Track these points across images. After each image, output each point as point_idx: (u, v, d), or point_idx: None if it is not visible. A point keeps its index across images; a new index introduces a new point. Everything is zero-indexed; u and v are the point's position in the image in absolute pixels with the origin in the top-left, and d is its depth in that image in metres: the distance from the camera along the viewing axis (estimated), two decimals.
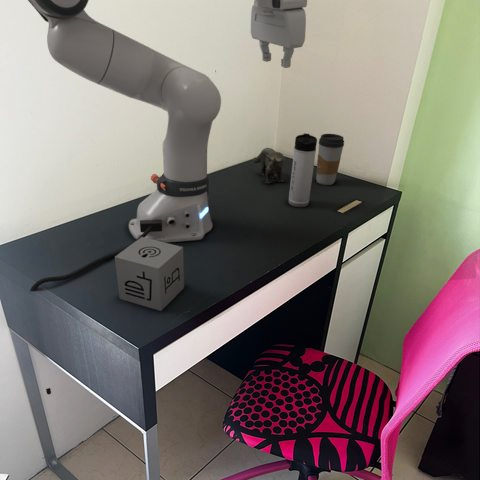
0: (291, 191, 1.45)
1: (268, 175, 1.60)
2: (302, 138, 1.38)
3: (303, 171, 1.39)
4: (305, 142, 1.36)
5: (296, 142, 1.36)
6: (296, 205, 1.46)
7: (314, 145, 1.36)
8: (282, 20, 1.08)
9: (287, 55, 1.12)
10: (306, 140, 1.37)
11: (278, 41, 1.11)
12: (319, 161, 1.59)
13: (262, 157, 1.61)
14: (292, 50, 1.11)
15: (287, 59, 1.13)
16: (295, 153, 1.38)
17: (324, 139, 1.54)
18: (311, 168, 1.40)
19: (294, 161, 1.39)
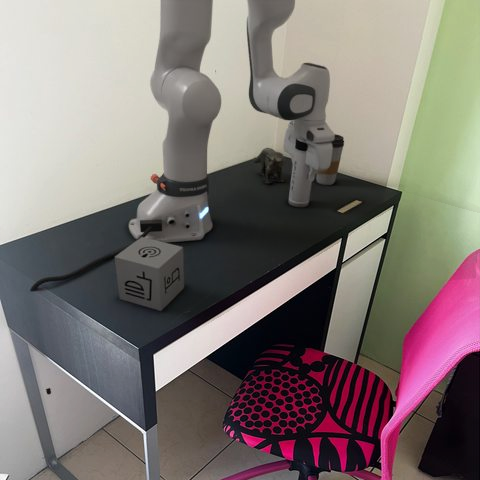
0: (291, 191, 1.45)
1: (268, 175, 1.60)
2: None
3: (303, 171, 1.39)
4: None
5: (297, 142, 1.37)
6: (296, 205, 1.46)
7: None
8: (313, 148, 1.33)
9: (312, 172, 1.38)
10: None
11: (308, 162, 1.36)
12: None
13: (262, 157, 1.61)
14: (317, 169, 1.38)
15: (312, 175, 1.39)
16: (295, 153, 1.38)
17: None
18: None
19: (294, 161, 1.39)
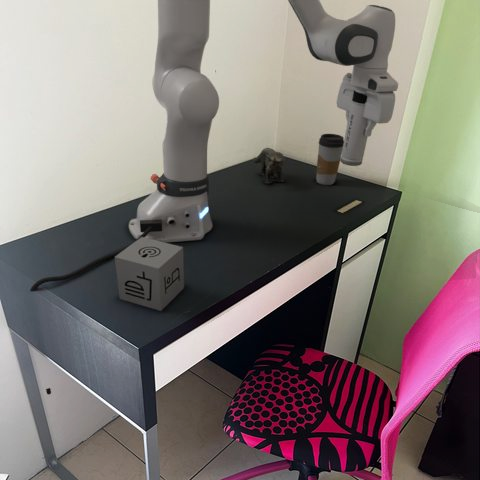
0: (345, 148, 1.37)
1: (268, 175, 1.60)
2: None
3: (360, 126, 1.32)
4: None
5: (355, 94, 1.29)
6: (349, 163, 1.38)
7: None
8: (374, 99, 1.26)
9: (370, 126, 1.30)
10: None
11: (366, 115, 1.29)
12: (319, 161, 1.59)
13: (262, 157, 1.61)
14: (375, 123, 1.30)
15: (369, 129, 1.32)
16: (353, 106, 1.31)
17: (324, 139, 1.54)
18: None
19: (351, 115, 1.32)
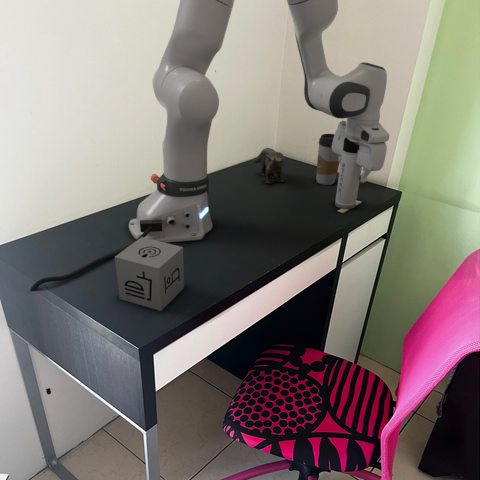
0: (338, 193, 1.45)
1: (268, 175, 1.60)
2: None
3: (351, 173, 1.40)
4: (354, 144, 1.36)
5: (345, 144, 1.37)
6: (344, 207, 1.46)
7: None
8: (366, 148, 1.33)
9: (365, 173, 1.37)
10: None
11: (360, 162, 1.36)
12: (319, 161, 1.59)
13: (262, 157, 1.61)
14: (370, 170, 1.37)
15: (364, 176, 1.38)
16: (344, 155, 1.38)
17: (324, 139, 1.54)
18: (359, 170, 1.40)
19: (342, 163, 1.40)
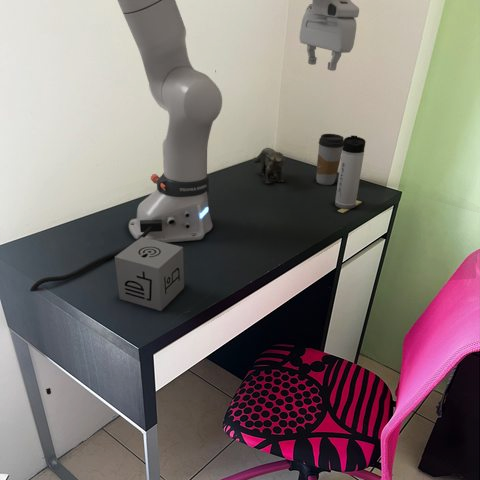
0: (338, 193, 1.45)
1: (268, 175, 1.60)
2: (350, 140, 1.39)
3: (351, 172, 1.40)
4: (354, 144, 1.36)
5: (345, 144, 1.37)
6: (343, 207, 1.46)
7: (363, 146, 1.36)
8: (334, 27, 1.20)
9: (334, 59, 1.24)
10: (354, 141, 1.38)
11: (328, 45, 1.23)
12: (319, 161, 1.59)
13: (262, 157, 1.61)
14: (340, 55, 1.24)
15: (334, 63, 1.25)
16: (343, 155, 1.39)
17: (324, 139, 1.54)
18: (359, 169, 1.40)
19: (342, 163, 1.40)
